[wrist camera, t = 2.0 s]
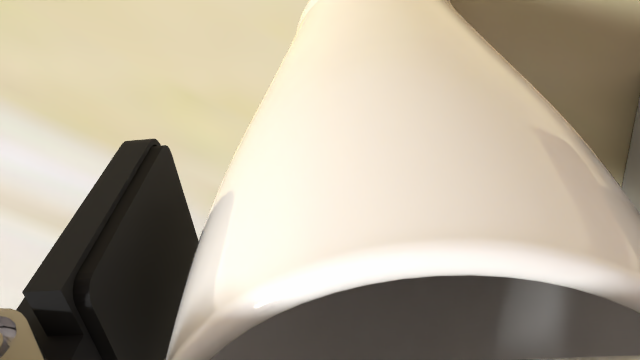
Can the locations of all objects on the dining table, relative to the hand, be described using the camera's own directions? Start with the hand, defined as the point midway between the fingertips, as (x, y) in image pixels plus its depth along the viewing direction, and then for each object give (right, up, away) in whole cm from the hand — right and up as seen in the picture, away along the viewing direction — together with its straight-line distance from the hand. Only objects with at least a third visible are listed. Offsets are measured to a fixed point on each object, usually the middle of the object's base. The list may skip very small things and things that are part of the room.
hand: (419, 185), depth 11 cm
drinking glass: (0, +5, +9) cm, 10 cm away
